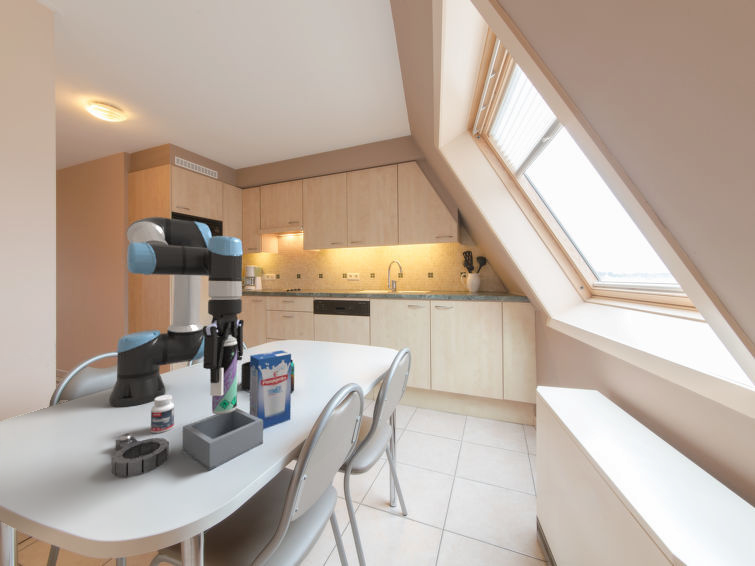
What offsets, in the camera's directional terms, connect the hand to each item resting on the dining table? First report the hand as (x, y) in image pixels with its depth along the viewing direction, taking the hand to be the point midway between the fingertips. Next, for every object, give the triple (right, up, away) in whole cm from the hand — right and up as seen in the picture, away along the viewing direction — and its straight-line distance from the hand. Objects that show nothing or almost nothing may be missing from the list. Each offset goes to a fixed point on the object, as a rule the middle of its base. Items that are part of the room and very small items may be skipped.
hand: (224, 390), depth 72 cm
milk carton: (+6, -15, +14) cm, 21 cm away
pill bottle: (-22, -14, +9) cm, 28 cm away
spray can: (0, -5, 0) cm, 5 cm away
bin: (0, -14, 0) cm, 14 cm away
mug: (-10, -15, +41) cm, 45 cm away
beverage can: (+3, -15, +36) cm, 39 cm away
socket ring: (-19, -14, -4) cm, 24 cm away
